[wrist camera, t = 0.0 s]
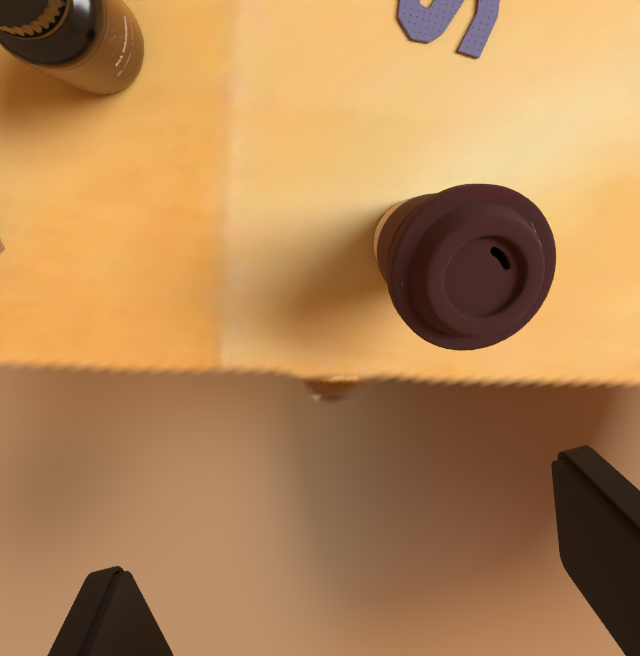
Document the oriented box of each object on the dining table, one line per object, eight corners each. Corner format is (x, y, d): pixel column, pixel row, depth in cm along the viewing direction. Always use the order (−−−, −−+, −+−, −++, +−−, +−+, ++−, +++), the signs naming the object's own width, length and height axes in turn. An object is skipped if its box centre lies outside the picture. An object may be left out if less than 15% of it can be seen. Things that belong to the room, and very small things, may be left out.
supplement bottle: (162, 78, 34) (100, 29, 23) (77, 108, 34) (-27, 75, 23) (121, -27, 32) (29, -141, 20) (30, 5, 32) (-111, -88, 20)
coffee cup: (366, 306, 41) (409, 376, 27) (348, 193, 37) (386, 205, 23) (473, 284, 41) (573, 342, 27) (465, 170, 38) (573, 167, 23)
